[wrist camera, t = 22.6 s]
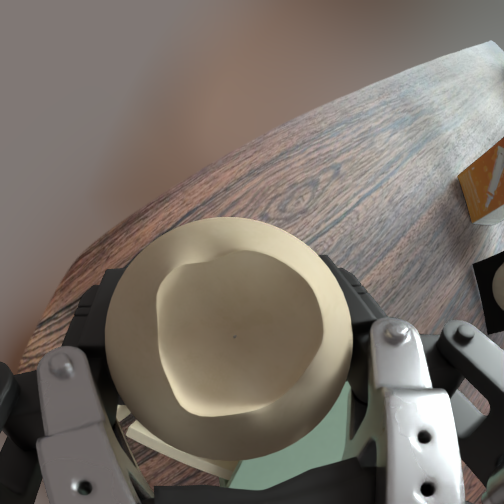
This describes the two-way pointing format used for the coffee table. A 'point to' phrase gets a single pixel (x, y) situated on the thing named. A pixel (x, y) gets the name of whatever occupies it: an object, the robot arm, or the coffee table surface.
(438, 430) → the robot arm
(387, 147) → the coffee table surface
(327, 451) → the green drawer housing
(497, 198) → the small box
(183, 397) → the candle
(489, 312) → the decorative object
